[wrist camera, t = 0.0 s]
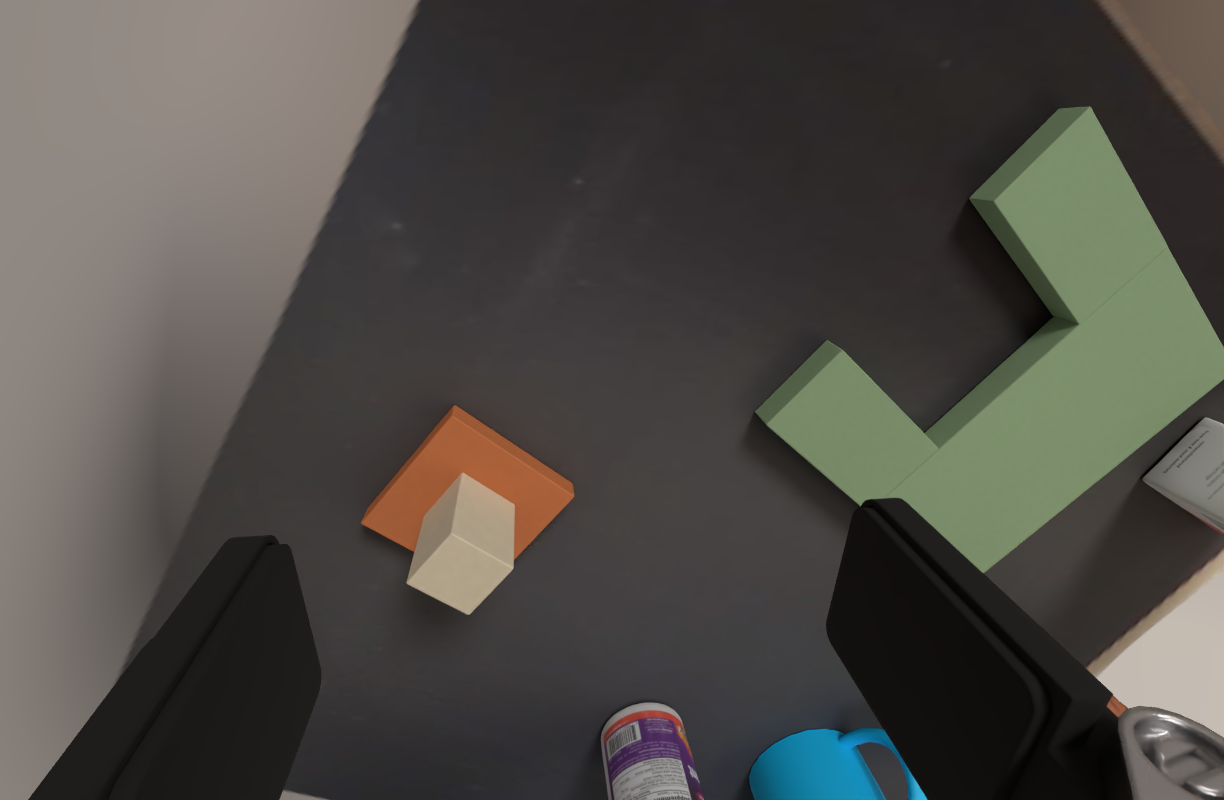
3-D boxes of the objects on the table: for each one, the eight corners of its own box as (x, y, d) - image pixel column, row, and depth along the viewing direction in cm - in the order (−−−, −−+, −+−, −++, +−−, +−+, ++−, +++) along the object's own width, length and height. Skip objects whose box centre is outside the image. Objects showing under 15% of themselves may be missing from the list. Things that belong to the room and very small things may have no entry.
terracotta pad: (454, 403, 25) (437, 469, 20) (573, 482, 28) (584, 559, 23) (366, 508, 27) (329, 594, 22) (486, 574, 30) (479, 665, 24)
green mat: (1058, 108, 24) (1090, 105, 23) (1205, 359, 31) (1236, 369, 29) (754, 411, 28) (765, 425, 26) (943, 575, 35) (960, 593, 33)
